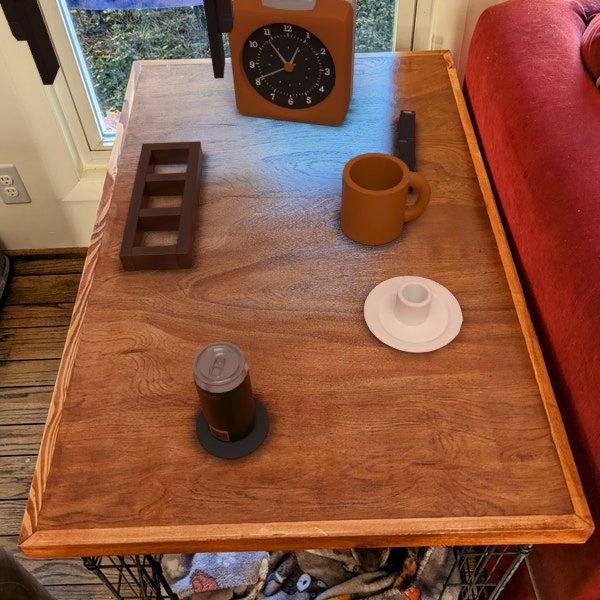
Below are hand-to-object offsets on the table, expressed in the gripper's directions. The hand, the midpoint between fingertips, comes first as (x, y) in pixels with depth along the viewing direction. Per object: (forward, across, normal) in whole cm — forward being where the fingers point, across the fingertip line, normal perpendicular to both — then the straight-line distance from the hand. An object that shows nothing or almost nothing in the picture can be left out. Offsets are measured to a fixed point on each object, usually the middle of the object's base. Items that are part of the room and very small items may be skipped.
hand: (136, 73), depth 51 cm
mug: (+35, -25, -17) cm, 46 cm away
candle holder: (+35, -26, -1) cm, 44 cm away
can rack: (+35, +6, -22) cm, 42 cm away
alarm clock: (+35, -13, -46) cm, 59 cm away
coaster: (+35, -5, +14) cm, 38 cm away
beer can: (+34, -5, +14) cm, 37 cm away
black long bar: (+35, -30, -32) cm, 56 cm away
